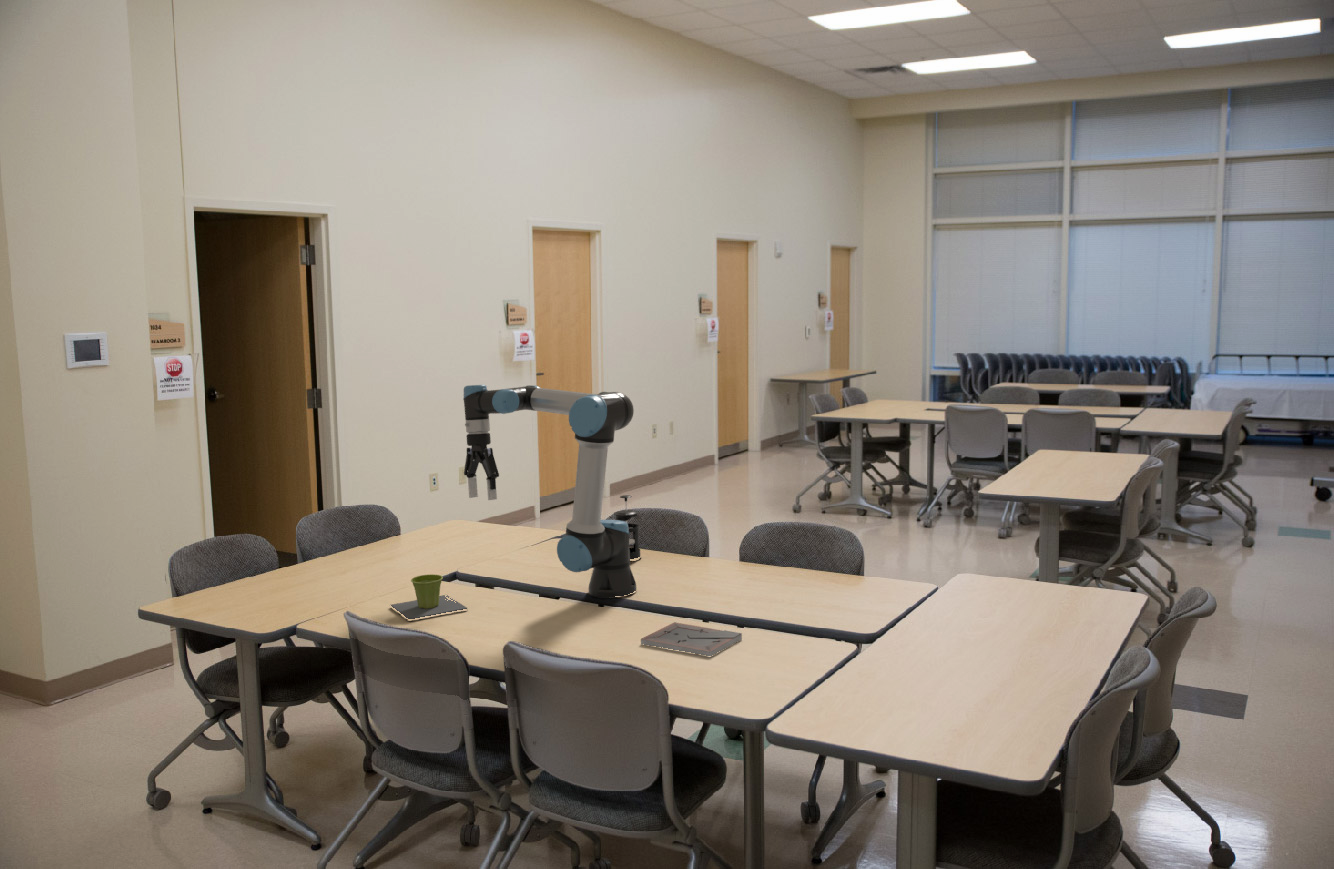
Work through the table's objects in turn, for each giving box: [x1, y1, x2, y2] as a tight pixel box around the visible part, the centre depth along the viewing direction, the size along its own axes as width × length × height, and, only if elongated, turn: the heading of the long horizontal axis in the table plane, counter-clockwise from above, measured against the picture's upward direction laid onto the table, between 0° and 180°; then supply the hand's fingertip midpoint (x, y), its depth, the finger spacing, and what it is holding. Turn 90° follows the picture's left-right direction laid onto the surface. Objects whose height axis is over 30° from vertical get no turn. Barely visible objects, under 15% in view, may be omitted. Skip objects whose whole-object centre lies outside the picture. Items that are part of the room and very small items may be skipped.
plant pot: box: [410, 573, 444, 609], centre depth 318 cm, size 9×9×9 cm
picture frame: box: [640, 621, 743, 657], centre depth 280 cm, size 16×2×22 cm
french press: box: [613, 494, 641, 559], centre depth 372 cm, size 12×9×23 cm
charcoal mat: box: [390, 594, 468, 619], centre depth 318 cm, size 18×18×1 cm
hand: (482, 498), depth 338 cm, fingers open, 13 cm apart
